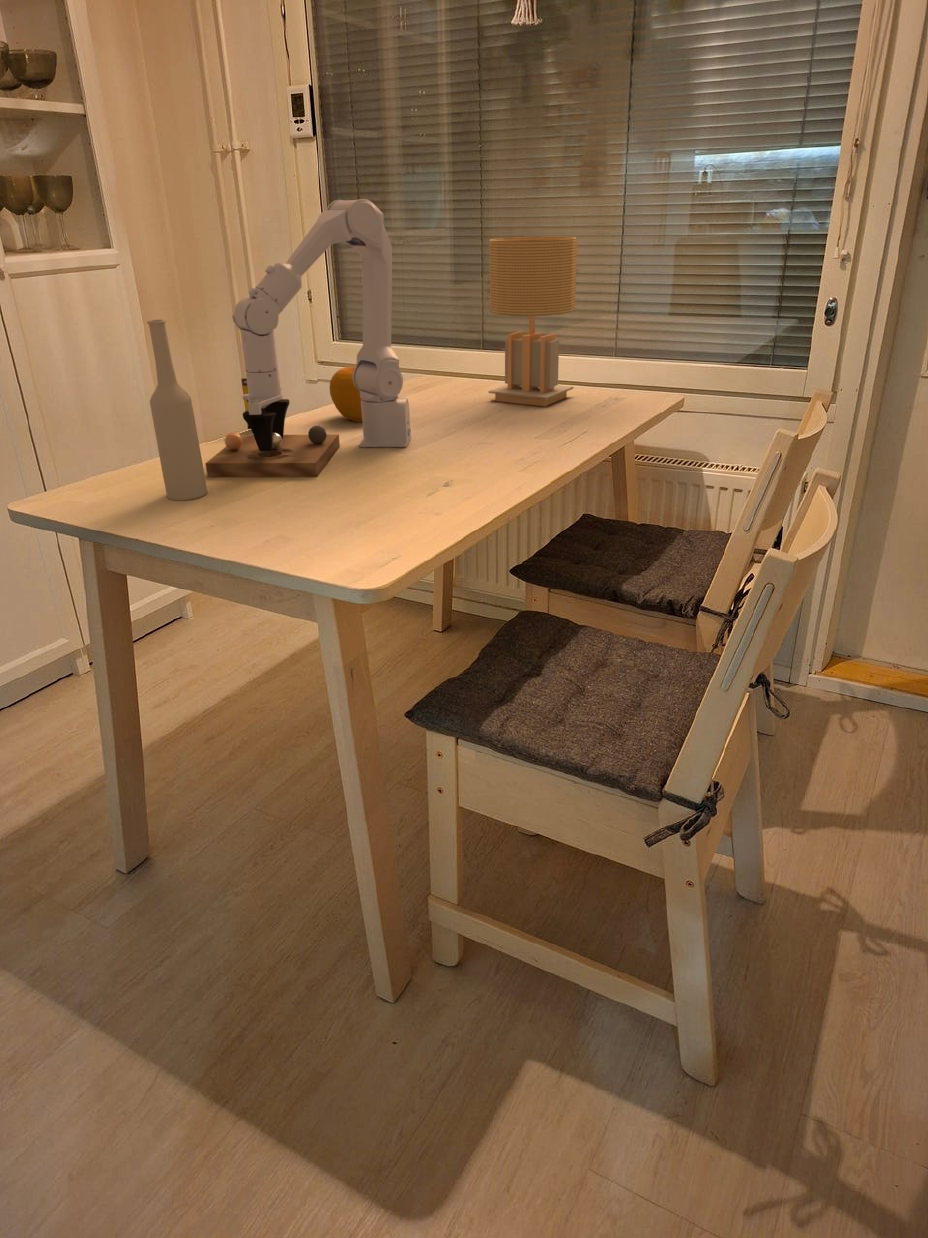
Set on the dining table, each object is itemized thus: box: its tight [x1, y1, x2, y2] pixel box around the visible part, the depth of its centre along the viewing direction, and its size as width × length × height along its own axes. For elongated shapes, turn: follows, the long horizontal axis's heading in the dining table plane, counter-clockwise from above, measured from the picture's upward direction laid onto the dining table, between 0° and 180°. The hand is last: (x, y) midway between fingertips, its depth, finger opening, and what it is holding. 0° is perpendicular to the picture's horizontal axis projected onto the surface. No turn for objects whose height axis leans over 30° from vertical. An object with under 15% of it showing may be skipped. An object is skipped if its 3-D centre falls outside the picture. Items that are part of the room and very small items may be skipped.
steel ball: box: [272, 432, 282, 449], centre depth 157 cm, size 3×3×3 cm
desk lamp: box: [488, 236, 578, 407], centre depth 195 cm, size 20×20×35 cm
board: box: [204, 433, 341, 478], centre depth 159 cm, size 20×20×2 cm
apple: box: [329, 365, 362, 423], centre depth 186 cm, size 13×13×11 cm
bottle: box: [146, 318, 208, 502], centre depth 136 cm, size 7×7×28 cm
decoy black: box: [307, 425, 327, 444], centre depth 159 cm, size 3×3×3 cm
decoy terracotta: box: [224, 432, 243, 450], centre depth 157 cm, size 3×3×3 cm
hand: (271, 445), depth 156 cm, fingers open, 7 cm apart
